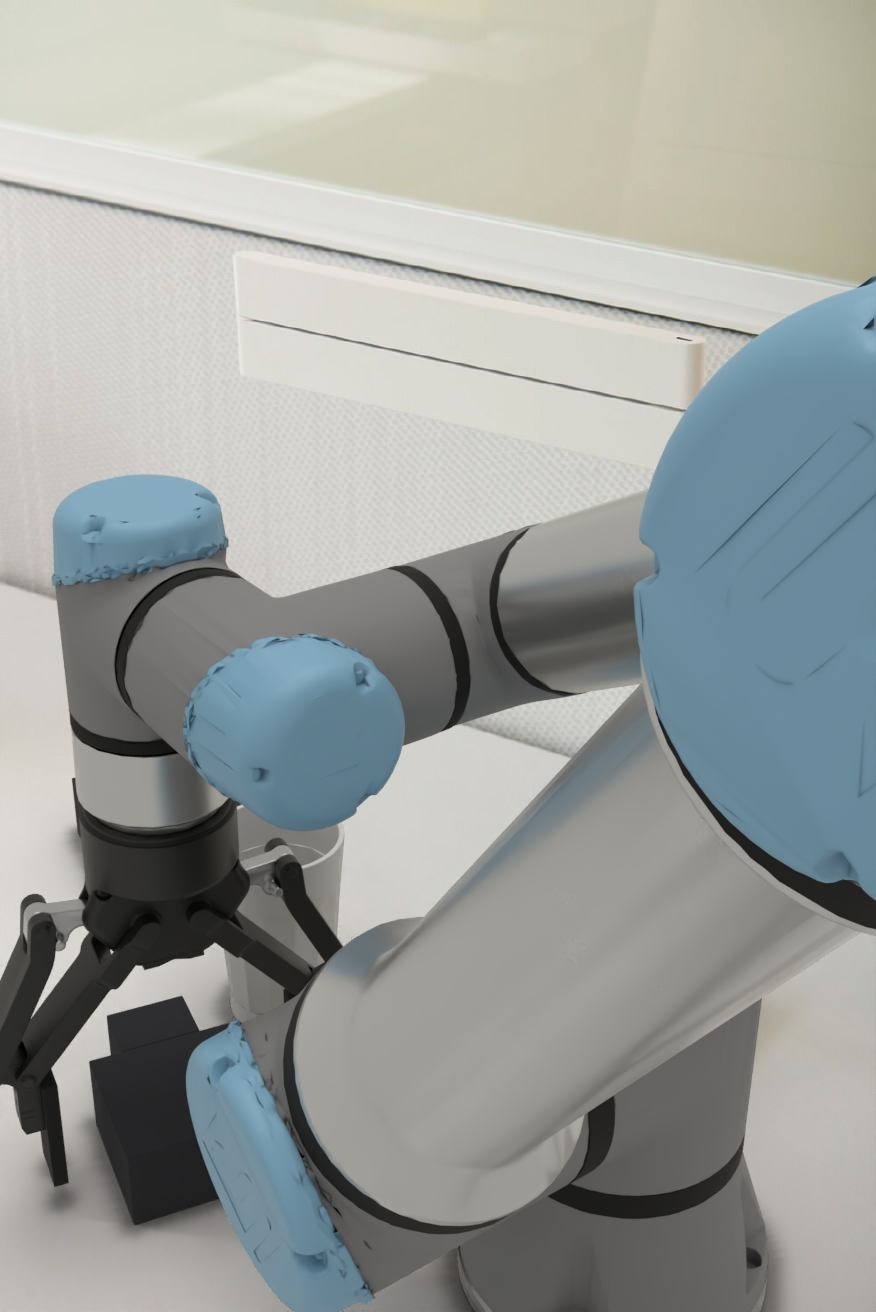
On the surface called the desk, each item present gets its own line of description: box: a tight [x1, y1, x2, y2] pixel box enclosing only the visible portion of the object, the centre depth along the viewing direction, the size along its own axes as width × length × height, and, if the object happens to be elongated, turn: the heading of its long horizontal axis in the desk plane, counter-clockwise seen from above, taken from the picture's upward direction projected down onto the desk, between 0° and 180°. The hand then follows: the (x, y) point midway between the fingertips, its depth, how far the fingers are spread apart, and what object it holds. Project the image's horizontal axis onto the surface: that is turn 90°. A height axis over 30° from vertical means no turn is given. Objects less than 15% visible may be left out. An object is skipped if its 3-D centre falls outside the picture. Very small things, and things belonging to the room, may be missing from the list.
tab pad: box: [88, 995, 230, 1225], centre depth 88 cm, size 11×8×4 cm
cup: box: [223, 805, 345, 1023], centre depth 97 cm, size 8×8×12 cm
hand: (182, 1130), depth 88 cm, fingers open, 13 cm apart
